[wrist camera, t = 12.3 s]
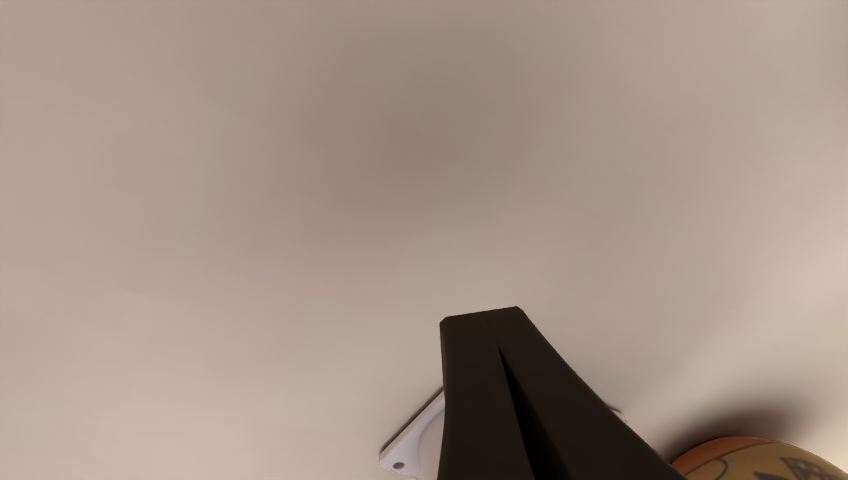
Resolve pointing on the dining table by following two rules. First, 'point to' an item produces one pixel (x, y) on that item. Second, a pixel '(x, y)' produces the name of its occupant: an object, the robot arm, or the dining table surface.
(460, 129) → the dining table surface
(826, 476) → the ceramic vessel
